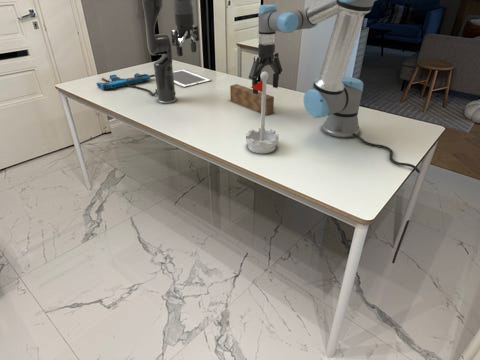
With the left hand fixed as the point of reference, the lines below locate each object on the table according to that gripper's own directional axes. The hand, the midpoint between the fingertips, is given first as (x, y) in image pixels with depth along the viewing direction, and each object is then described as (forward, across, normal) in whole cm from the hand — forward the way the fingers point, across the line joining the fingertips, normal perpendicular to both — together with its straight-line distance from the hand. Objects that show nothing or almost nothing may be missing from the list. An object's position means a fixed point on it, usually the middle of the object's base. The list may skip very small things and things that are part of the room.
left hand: (187, 53), depth 145 cm
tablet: (+30, -46, -48) cm, 73 cm away
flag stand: (+30, +6, +43) cm, 52 cm away
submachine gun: (+30, -20, -73) cm, 81 cm away
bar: (+30, -29, +14) cm, 44 cm away
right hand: (+19, -27, +24) cm, 41 cm away
